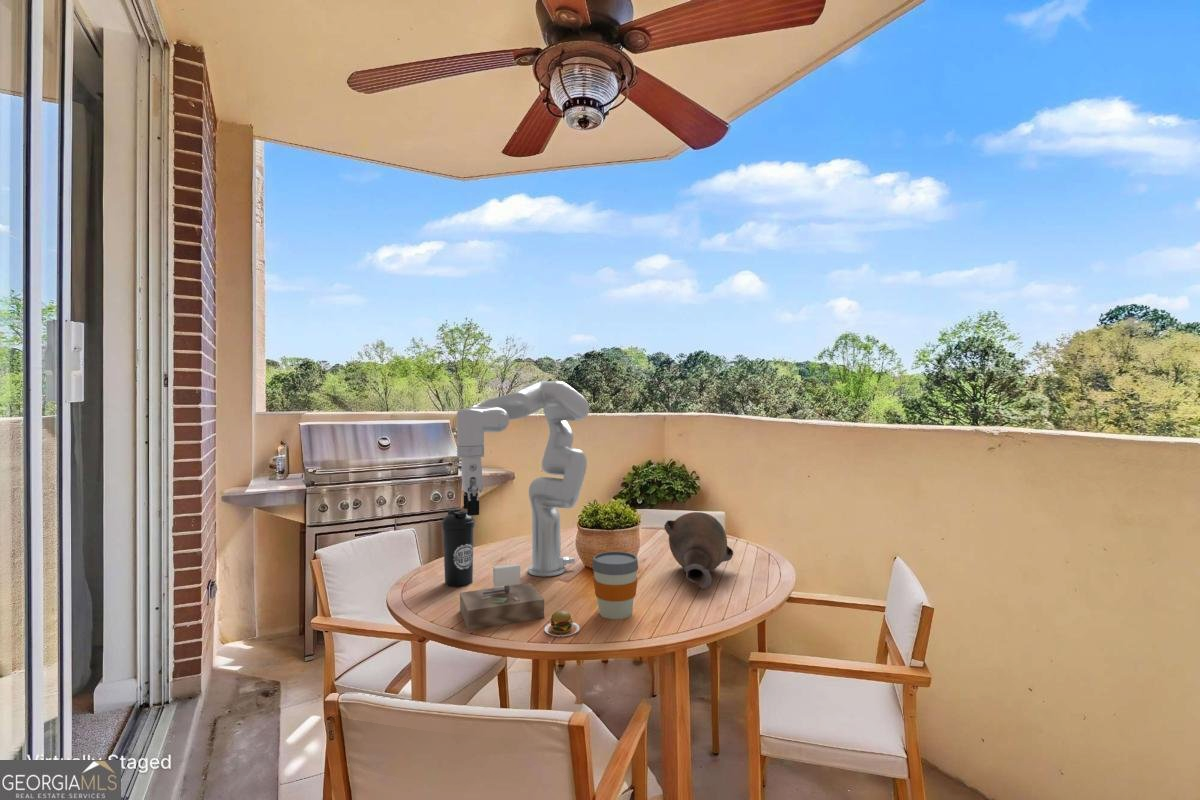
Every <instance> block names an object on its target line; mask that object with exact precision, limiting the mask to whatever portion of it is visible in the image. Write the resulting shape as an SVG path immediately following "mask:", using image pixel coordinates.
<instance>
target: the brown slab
mask: <svg viewBox="0 0 1200 800" xmlns="http://www.w3.org/2000/svg"><path fill="white" fill-rule="evenodd" d="M500 589H504V586H500V587H493V588H491V587H490V588H485V589H479V590H471V591H463V592H459V611H460V614H461V616H462V619H463V622H464V623H465V626H466V629H467V631H472V630H479V629H486V628H491V627H497V626H503V625H509V624H515V623H516V624H517V623H522V622H527V621H528V622H529V621H533V620H534V621H535V620H539V619H540V620H541V619H545V599H544V597H543V595H541V593H540V592H539V591H538V590H537V588H535V586H534V585H533V584H532V583H531V582H529V583H520V584H515V585H509V590H510V591H509V592H498V593H490V594H483V592H485V591H492V590H500Z"/></svg>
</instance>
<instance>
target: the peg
mask: <svg viewBox="0 0 1200 800" xmlns="http://www.w3.org/2000/svg"><path fill="white" fill-rule="evenodd" d="M492 571H493V572H492V573H493V577H492V579H493V581H492V582H493V583H492V584H493V587H494V588H498V587H504V589H500V590H492V591H485V592H483V594H490V593H498V592H509V591H510V590H509V586H513V585H520V584H521V565H520V564H519V563H512V564H503V565H495V566H493V567H492Z"/></svg>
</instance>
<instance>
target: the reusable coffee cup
mask: <svg viewBox="0 0 1200 800" xmlns="http://www.w3.org/2000/svg"><path fill="white" fill-rule="evenodd" d="M592 559H593V560H592V571H593V576H594V577H593V579H592V580H593V587H594V593H595V597H596V598H597V604H598V605H597V606H598V613H600V614H599V615H600V616H601V617H603V618H606V619H609V620H620V619H621V620H623V619H626V618H629V617H631V616H632V614H633V608H634V600H635V597H636V594H637V587H638V576H637V573H638V570H639V561H638V556H637V555H635V554H633V553H631V552H627V551H606V552H605V551H604V552H600V553H596V554H595V555H594V556H593V558H592Z"/></svg>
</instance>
